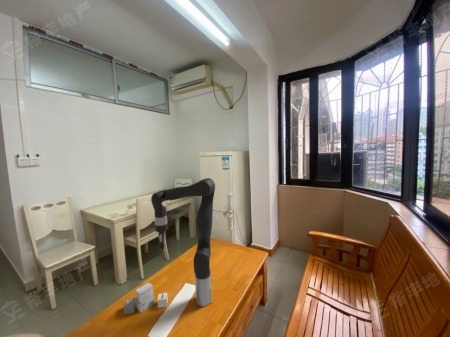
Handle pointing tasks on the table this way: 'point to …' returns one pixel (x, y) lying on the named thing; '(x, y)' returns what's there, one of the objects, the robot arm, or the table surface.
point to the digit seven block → (130, 306)
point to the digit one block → (162, 300)
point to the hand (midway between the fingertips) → (162, 248)
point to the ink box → (144, 297)
